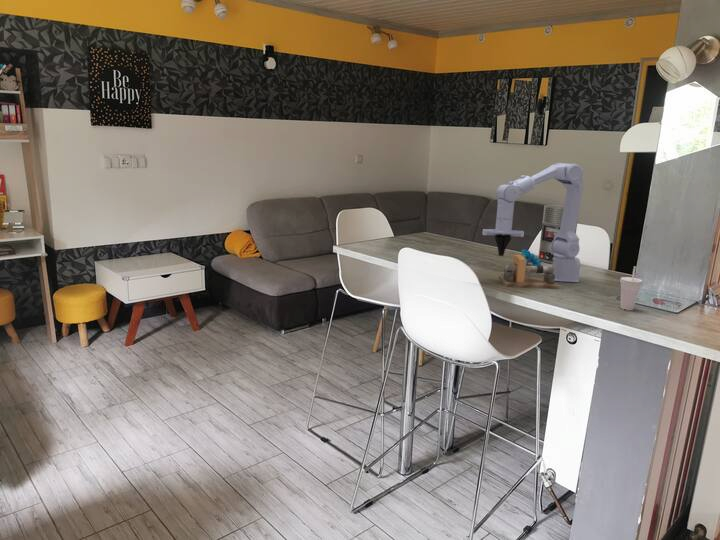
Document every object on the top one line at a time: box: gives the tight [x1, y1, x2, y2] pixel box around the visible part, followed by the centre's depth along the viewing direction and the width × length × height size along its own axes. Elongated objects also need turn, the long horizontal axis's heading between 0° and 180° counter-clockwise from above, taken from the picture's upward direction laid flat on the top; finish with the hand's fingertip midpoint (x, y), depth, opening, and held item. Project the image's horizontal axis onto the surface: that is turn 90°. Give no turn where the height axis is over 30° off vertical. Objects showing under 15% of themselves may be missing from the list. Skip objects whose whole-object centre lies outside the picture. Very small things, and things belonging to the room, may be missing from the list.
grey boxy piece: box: [537, 204, 579, 265], centre depth 241 cm, size 14×6×25 cm, turn 37°
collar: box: [512, 254, 527, 283], centre depth 205 cm, size 2×9×9 cm, turn 178°
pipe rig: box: [498, 264, 560, 290], centre depth 205 cm, size 19×12×7 cm, turn 88°
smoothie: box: [619, 265, 643, 311], centre depth 176 cm, size 6×6×14 cm
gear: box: [520, 248, 542, 266], centre depth 235 cm, size 11×6×10 cm
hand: (500, 255), depth 204 cm, fingers closed
